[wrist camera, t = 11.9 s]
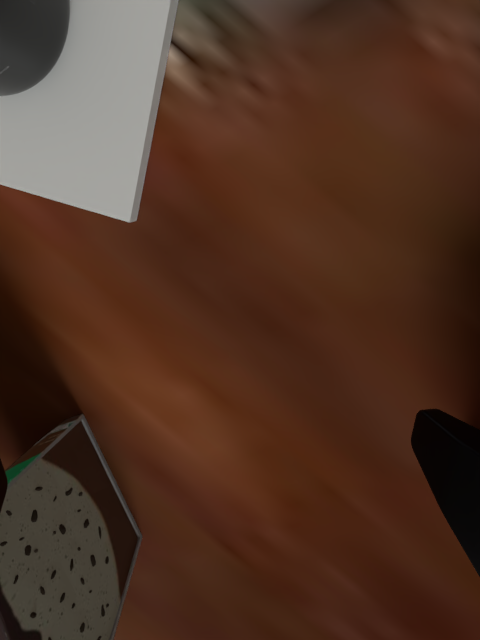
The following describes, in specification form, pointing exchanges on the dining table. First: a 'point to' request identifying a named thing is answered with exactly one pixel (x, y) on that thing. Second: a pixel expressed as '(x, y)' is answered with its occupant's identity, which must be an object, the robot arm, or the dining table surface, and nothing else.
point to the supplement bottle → (30, 41)
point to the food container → (64, 541)
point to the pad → (92, 109)
